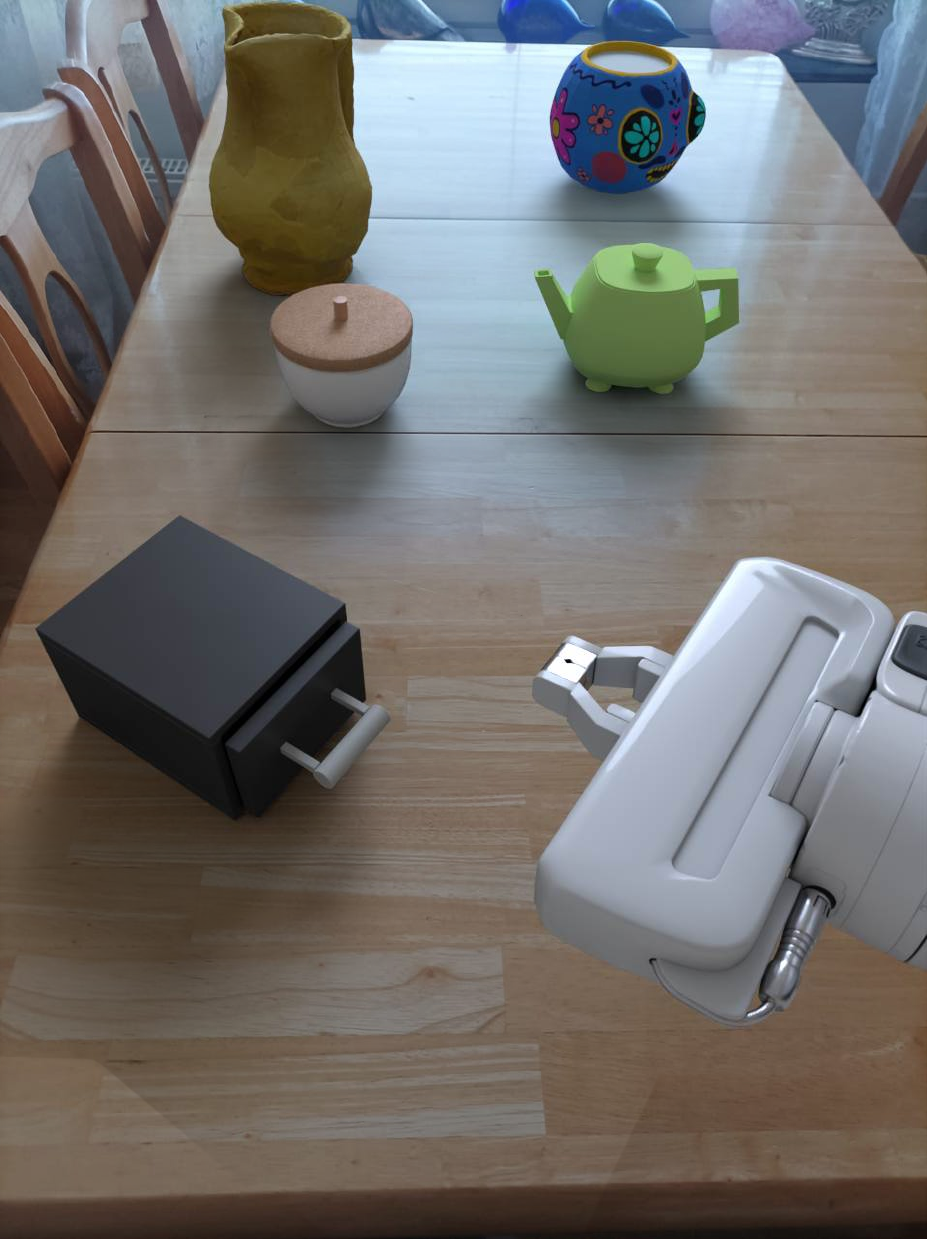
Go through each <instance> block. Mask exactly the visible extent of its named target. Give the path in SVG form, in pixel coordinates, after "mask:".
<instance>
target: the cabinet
mask: <svg viewBox="0 0 927 1239" xmlns="http://www.w3.org/2000/svg"><path fill="white" fill-rule="evenodd" d="M345 621H347V622H348V614H347V605H346V603H345V601H343V600H341V599H339V598H337V597H335V596H333V595H332V594H329V593H328V592H325V591H323V590H322V589H320V588H318V587H316V586H315V585H312V584H311V583H308V581H305V580H303V579H301V578H299V577H298V576H295V575H293V574H292V573H291V572H288V571H286V570H284V569H282V568H280V567H278V566H277V565H275V564H272V563H271V562H269V561H267V560H265V559H263V558H262V557H259V556H258V555H256V554H254V553H252V552H250V551H248V550H246V549H244V548H243V547H241V546H239V545H237V544H235V543H233V542H231V541H229V540H228V539H226V538H224V537H222V536H220V535H218V534H216V533H215V532H213V531H211V530H209V529H207V528H205V527H203V526H201V525H200V524H197V523H195V522H194V521H192V520H191V519H188V518H186V517H184V516H182V515H181V514H180V515H178V516H176V517H175V518H174V519H172V520H171V521H170V522H169V523H167V524H166V525H165V526H164V527H162V528H161V529H160V530H159V531H157V532H156V533H155V534H154V535H152V536H151V537H149V539H147V540H146V541H144V542H143V543H142V544H141V545H139V546H138V547H137V548H136V549H134V550H133V551H132V552H131V553H129V554H128V555H127V556H125V557H124V558H123V559H122V560H120V561H119V562H117V564H115V565H114V566H112V568H110V569H109V570H108V571H106V572H105V573H104V574H102V575H101V576H100V577H99V578H97V579H96V580H94V582H92V583H91V584H90V585H88V587H86V588H85V589H83V590H82V591H81V592H80V593H78V594H77V595H76V596H75V597H73V598H72V599H70V600H69V601H68V602H67V603H65V604H64V605H63V606H62V607H60V608H59V609H58V610H57V611H55V612H54V613H53V614H51V615H50V616H48V618H46V619H45V620H44V621H42V622H41V623H40V624H39V625H37V626H36V627H35V629H34V630H35V632H36V634H37V635H38V637H39V639H40V641H41V644H42V645H43V647H44V650H45V652H46V653H47V656H48V658H49V659H50V662H51V663H52V664H51V665H53V667H54V669H55V672H56V673H57V675H58V677H59V680H60V682H61V684H62V686H63V688H64V689H65V692H66V693H67V696H68V698H69V700H70V702H71V704H72V706H73V708H74V709H75V712H76V715H77V716H78V718H79V719H81V720H83V721H84V722H86V723H87V724H89V725H90V726H91V727H93V728H95V729H96V730H97V731H99V732H101V733H102V734H104V735H105V736H107V737H108V738H110V739H111V740H112V741H114V742H116V744H119V745H120V746H121V747H123V748H125V749H126V750H128V751H129V752H131V753H132V754H134V756H135V755H136V756H137V757H138V758H139V759H142V760H143V761H144V762H146V763H147V764H149V765H150V766H152V767H154V768H155V769H156V770H158V771H159V772H161V773H162V774H163V775H165V776H166V777H168V778H170V779H171V780H173V781H174V782H176V783H178V784H179V785H180V786H182V787H184V788H185V789H186V790H188V791H189V792H191V793H192V794H194V795H195V796H197V797H198V798H200V799H201V800H203V801H204V802H206V803H207V804H209V805H210V806H212V807H214V808H215V809H216V810H218V811H219V812H221V813H222V814H224V815H226V816H227V817H228V818H230V819H232V820H233V821H234V822H237V821H238V820H239V819H240V818H241V817H242V815H243V814H245V812H246V811H245V809H244V806H243V803H242V799H241V796H240V793H239V789H238V788H237V789H236V786H235V783H234V779H233V776H232V773H231V770H230V766H229V763H228V760H227V757H226V753H225V750H224V747H223V744H222V740H221V738H220V737H221V736H222V735H223V734H224V733H225V732H226V731H227V730H228V729H229V728H230V727H231V726H232V725H233V724H234V723H235V722H236V721H237V720H238V719H239V718H240V717H241V716H242V715H243V714H244V713H245V712H246V711H247V710H248V709H249V708H250V707H251V706H252V705H253V704H254V703H255V702H256V701H257V700H258V699H259V698H260V697H261V696H262V695H263V694H264V693H265V692H266V691H267V690H268V689H269V688H270V687H271V686H272V685H273V684H274V683H275V682H276V681H277V680H278V679H279V678H280V677H281V676H282V675H283V674H284V673H285V672H286V671H287V670H288V669H289V668H290V667H291V666H292V665H293V664H294V663H295V662H296V661H297V660H298V659H299V658H300V657H301V656H302V655H303V654H304V653H305V652H306V651H307V650H308V649H309V648H310V647H311V646H312V645H313V644H314V643H315V642H316V641H317V640H318V639H319V638H320V637H321V636H322V635H323V634H325V641H326V640H327V639H328V638H329V637H330V636H331V635H332V634H333V633H334V632H335V631H336V630H337V629H338V628H339V627H340V626H341V625H342V624H343V623H344V622H345Z"/></svg>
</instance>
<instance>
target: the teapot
mask: <svg viewBox="0 0 927 1239" xmlns="http://www.w3.org/2000/svg"><path fill="white" fill-rule="evenodd" d="M533 272H534V273H533V274H534V279H535V282H536V284H537V287H538V289H539V292H540V294H541V297H542V298H543V301H544V304H545V305H546V308H547V311H548V313H549V315H550V317H551V320H552V322H553V325H554V327H555V329H556V332H557V334H558V336H559V339H560V340H563V345H564V349H565V351H566V353H567V355H568V357H569V360H570V361H571V363H572V364H573V366H574V367H575V369H576V370H577V371H578V372H579V373H580V374H581V375H582V376H584V377H586V378H587V380H586V381H585V385H586V387H587V388H588V389H589V390H591V391H592V392H593V391H594V392H596V393H604V392H607V391H609V390H611V389H612V385H613V386H618V387H626V388H627V387H628V388H648V389H649V390H650V391H652V392H654V393H656V394H660V395H664V394H665V395H666V394H669V393H671V392H672V391H673V390H674V385H673V384H674V383H676V382H679V381H681V380H682V379H683V378H685V377H687V376H688V375H690V373H691V372H693V371H694V370H695V369H696V368H697V367H698V366H699V364H700V363H701V361H702V359H703V356H704V351H705V344H706V342H707V341H710V340H711V339H713V338H715V337H717V336H719V335H721V334H723V333H724V332H725V331H728V330H729V329H731V328H733V327H736V326H737V325H738V324H740V298H739V297H740V296H739V294H740V293H739V291H740V290H739V289H740V288H739V276H738V271H737V268H736V267H723V268H705V269H704V268H703V269H695V268H694V265H693V264H692V261H691V260H690V258H688V256H687V255H685V254H684V253H682V252H681V251H678V250H676V249H674V248H671V247H666V246H665V247H664V246H660V245H657V244H654V243H651V242H640V243H637V244H619V245H612V246H608V247H605V248H603V249H601V250H599V251H597V252H596V253H595V254H594V256H593V257H592V258H591V260H590V261H589V262H588V264H587V265H586V266H585V268H584V269H583V271H582V273H581V274H580V276H579V277H578V279H577V280H576V282H575V284H574V285H573V288H572V290H571V292H570V295H567V294H566V292H565V290H563V288H562V286H561V285H560V283H559V281H558V280H557V278H556V277H555V275H554V274H553V271H552V268H544V269H535V270H533ZM716 290H719V294H718V305H715V306H714V307H712V308H710V309H708V310H705V303H704V299H703V294H702V292H709V291H716Z"/></svg>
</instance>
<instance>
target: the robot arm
mask: <svg viewBox="0 0 927 1239" xmlns="http://www.w3.org/2000/svg"><path fill="white" fill-rule="evenodd" d="M592 686H596V687H597V686H598V687H607V688H609V687H611V688H620V689H621V688H622V689H623V688H624V689H633V690H632V699H633V700H634V701H637V702H639V703H641V704H640V706H639V707H638V709H637V711H636V712H635V711H632V710H630V709H628V708H626V707H624V706H622V705H619V704H617V703H610V704H609V706H608V707H607V709H606V711H605V710H604V709H603V707H602V706H600V704H598V702H597V701H596V700H595V698H593V696H592V695H591V694H590V693H589V692H588V691H589V690H590V689H591V687H592ZM531 692H532V693H531V696H532V699H533V700H534V701H535V703H536V704H538V705H540V706H541V707H542V708H545V709H547V710H549V711H552V712H554V713H556V714H557V715H560V716H562V717H564V718H566V722H567V723H568V724H569V726H570V728H571V730H573V732H574V733H575V734H576V736H577V738H578V739H579V740H580V742H581V743H582V745H583V746H584V748H585V749H586V750H587V752H588V753H589V754H590V756H591V757H593V758H595V759H596V760H599V761H600V762H602V763H601V765H600V766H599V768H598V769H597V771H596V772H595V773H594V775H593V777H592V778H591V780H590V781H589V782H588V784H587V786H586V787H585V789H584V790H583V792H582V794H581V795H580V796H579V798H578V799H577V800H576V802H575V804H574V805H573V807H572V808H571V810H569V811H570V812H569V813H568V814H567V816H566V817H565V818H564V820H563V822H562V824H561V825H560V826H559V827H558V830H557V831H556V832H555V834H554V835H553V837H552V838H551V840H550V842H549V843H548V844H547V846H546V848H545V849H544V851H543V852H542V854H541V856H540V857H539V859H538V862H537V865H536V870H535V876H534V887H533V888H534V889H533V890H534V891H533V894H534V895H533V902H534V906H535V908H536V911H537V914H538V917H539V918H540V920H541V922H542V925H543V927H544V928H545V929H546V931H547V932H548V933H549V934H551V935H552V936H553V937H555V938H556V939H558V940H560V941H561V942H563V943H565V944H567V945H569V946H571V947H573V948H575V949H577V950H579V951H581V952H583V953H585V954H587V955H588V956H591V957H593V958H595V959H598V960H600V961H602V962H604V963H607V964H609V965H611V966H613V967H616V968H618V969H621V970H623V971H625V972H628V973H630V974H632V975H635V976H637V977H639V978H642V979H645V980H648V981H650V982H653V983H655V984H658V985H661V986H662V987H663V988H664V990H665V991H666V992H667V993H668V994H669V995H670V996H671V997H672V998H674V999H675V1000H677V1002H679V1003H681V1004H682V1005H685V1006H686V1007H688V1008H690V1009H691V1010H692V1011H695V1012H696V1013H698V1014H699V1015H701V1016H704V1017H705V1018H707V1019H708V1020H710V1021H712V1022H714V1023H717V1024H718V1025H721V1026H725V1027H728V1028H736V1027H737V1028H743V1027H749V1026H753V1025H757V1024H760V1023H761V1022H763V1021H765V1020H766V1019H768V1018H769V1017H770V1016H771V1015H772V1014H773V1013H774V1012H778V1013H779V1012H780V1013H781V1012H785V1011H786V1010H787V1009H788V1008H789V1007H790V1005H791V1004H792V1003H793V1001H794V999H796V998H795V997H796V995H797V994H798V991H799V989H800V986H801V982H802V979H803V976H802V973H803V970H804V967H805V966H806V963H807V961H808V958H809V957H810V955H811V953H812V952H813V950H814V949H815V947H816V945H817V943H818V941H819V939H820V937H821V934H822V931H823V929H824V927H825V924H827V925H830V926H831V927H833V928H835V929H836V930H838V931H841V933H844V934H846V935H848V936H850V937H852V938H855V939H856V940H857V941H860V942H862V943H864V944H865V945H867V946H870V947H871V948H873V949H875V950H877V951H879V952H882V953H883V954H885V955H887V956H889V957H891V958H892V959H895V960H897V961H899V962H902V963H903V964H905V965H907V966H911V967H914V968H916V969H921V970H923V971H924V970H925V971H927V612H924V611H918V610H911V611H907V612H906V613H904V615H903V616H902V617H901V618H900V620H899V622H898V624H897V626H896V621H895V618H894V615H893V613H892V611H891V610H890V608H889V607H888V606H887V604H885V603H884V602H883V601H881V599H879V598H877V597H876V596H874V595H873V594H871V593H869V592H867V591H865V590H863V589H861V588H859V587H857V586H854V585H851V584H849V583H847V582H845V581H842V580H839V579H837V578H835V577H832V576H829V575H828V574H824V573H822V572H819V571H816V570H814V569H811V568H808V567H805V566H803V565H800V564H797V563H793V562H791V561H787V560H783V559H781V558H777V557H774V556H773V557H772V556H756V557H745V558H740V559H738V560H736V561H735V563H734V564H733V566H732V567H731V569H730V570H729V572H728V573H727V575H726V577H725V578H724V579H723V581H722V583H721V584H720V585H719V587H718V588H717V590H716V591H715V593H714V595H713V596H712V597H711V599H709V602H708V604H707V605H706V607H705V608H704V609H703V611H701V613H700V615H699V617H698V618H697V620H696V621H695V623H694V625H692V627H691V629H690V630H689V632H688V634H687V635H686V636H685V638H684V640H683V641H682V643H681V644H680V646H679V647H678V649H677V650H676V652H675V653H674V655H673V654H670V653H668V652H666V651H663V650H661V649H659V648H656V647H654V646H652V645H634V646H633V645H629V646H628V645H627V646H625V645H624V646H623V645H621V646H619V645H618V646H603V648H602V647H600V646H598V645H596V644H593V643H591V642H588V641H586V640H584V639H582V638H579V637H577V636H575V635H568V636H566V638H564V640H563V641H562V642H561V643H560V645H559V646H558V648H557V649H556V650H555V652H554V653H553V654H552V656H551V657H549V659H548V660H547V662H546V663H544V665H543V667H542V668H541V669H540V670H539V671H538V673H537V674H536V676H534V677H533V679H532V691H531ZM779 939H780V940H779ZM777 944H778V947H777V948H776V946H777ZM775 948H776V951H775ZM774 952H775V954H774V956H773V953H774ZM772 956H773V958H772ZM757 990H758V992H757ZM756 993H758V994H757V996H758V1000H759V1001H760V1002H761V1004H760V1005H759V1006H757V1007H756V1008H754V1009H752V1010H749V1009H750V1006H751V1004H752V1001H753V1000H754V997H755V995H756Z"/></svg>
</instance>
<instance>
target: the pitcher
mask: <svg viewBox="0 0 927 1239" xmlns="http://www.w3.org/2000/svg"><path fill="white" fill-rule="evenodd" d="M221 16H222V20H223V24H224V41H225V42H224V44H223V52H224V55H225V56H224V68H225V86H226V92H227V96H226V112H225V121H224V124H223V131H222V134H221V138H220V141H219V145H218V147H217V148H216V151H215V154H214V156H213V158H212V162H211V166H210V170H209V175H208V190H209V196H210V207H211V211H212V212H211V213H212V217H213V221H214V223H215V227H217V229H218V230H219V232H220V233H221V234H222V236H223V237H224V238H225V239H227V240H228V242H230V243H231V244H232V245H234V246H235V247H236V248H237V250H238V253H239V256H240V257H241V258H242V260H243V262H242V264H241V267H242V271H241V272H242V273H243V274H244V276H245V279H246V281H247V283H248V284H250V285H251V286H252V287H254V288H256V290H259V291H261V292H263V293H267V294H270V295H271V296H275V295H276V296H283V295H285V296H286V295H290V296H292V295H294V294H296V293H298V292H301V291H303V290H306V289H309V288H312V287H317V286H321V285H328V284H339V283H344V281H346V279H348V278H349V277H350V276H351V275H350V274H351V273H352V270H353V269H354V268H353V263H354V259H353V256H354V255H356V254H357V253H358V251H359V249H360V248H361V245H362V243H363V241H364V239H365V237H366V235H367V234H368V231H369V219H370V214H371V207H372V202H373V186H372V182H371V180H370V175H369V172H368V168H367V166H366V163H365V161H364V159H363V157H362V155H361V153H360V151H359V149H358V148H357V146H356V142H355V138H354V126H355V106H354V105H355V96H354V94H355V93H354V92H355V90H354V82H355V65H354V59H353V46H354V45H353V44H354V42H353V33H352V27H351V23H350V22H349V20H348V19H347V17H346V16H345V15H343V14H340V13H339V12H335V11H333V10H331V9H328V8H326V7H324V6H321V5H316V4H311V3H307V2H297V1H283V0H268V1H260V0H259V1H258V0H257V1H251V2H241V3H236V4H231V5H229V4H228V5H224V6H222V13H221ZM349 279H350V278H349Z"/></svg>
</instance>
